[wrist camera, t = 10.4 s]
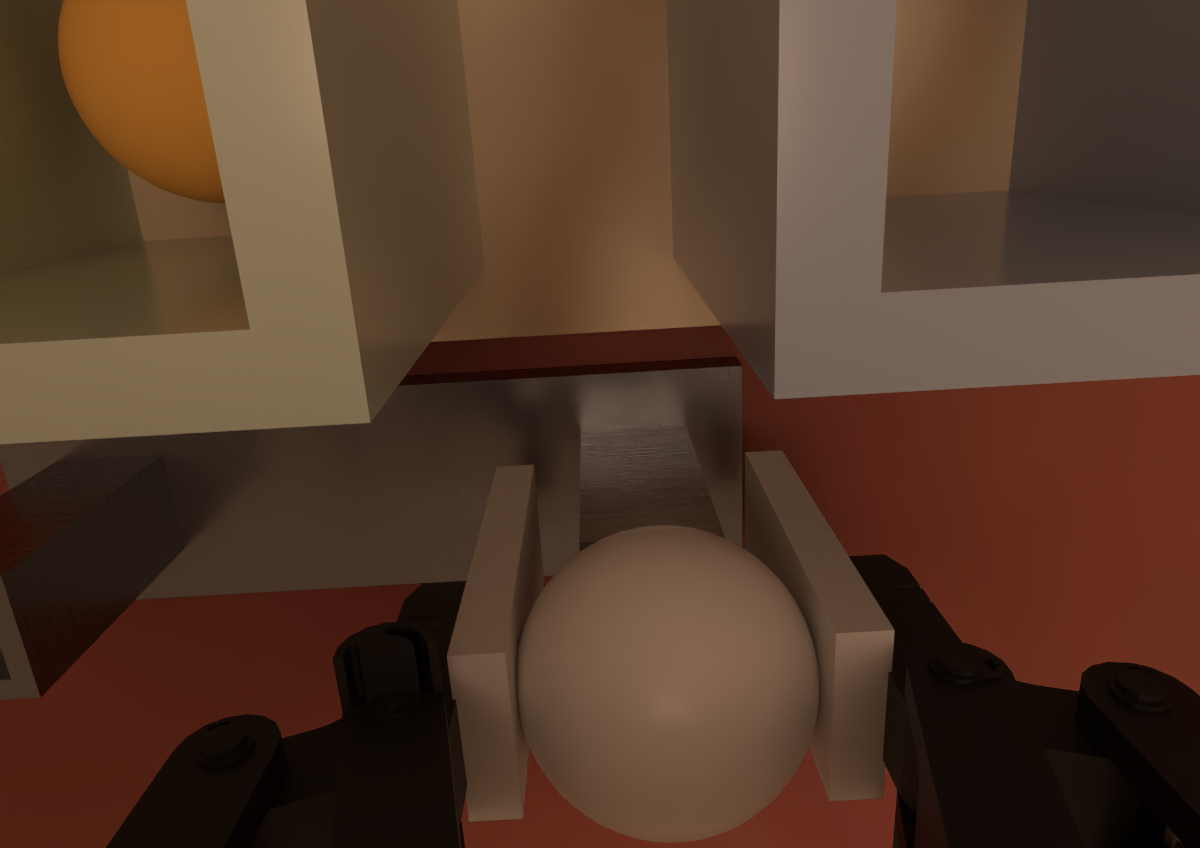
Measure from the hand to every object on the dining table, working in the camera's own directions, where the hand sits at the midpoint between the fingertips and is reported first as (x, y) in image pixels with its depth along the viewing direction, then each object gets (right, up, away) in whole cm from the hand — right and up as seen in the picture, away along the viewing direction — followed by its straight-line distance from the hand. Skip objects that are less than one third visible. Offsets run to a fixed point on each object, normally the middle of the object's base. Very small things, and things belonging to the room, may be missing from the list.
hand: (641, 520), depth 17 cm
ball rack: (-6, +1, +3) cm, 7 cm away
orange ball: (-8, +8, -3) cm, 11 cm away
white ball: (0, -2, -5) cm, 5 cm away
